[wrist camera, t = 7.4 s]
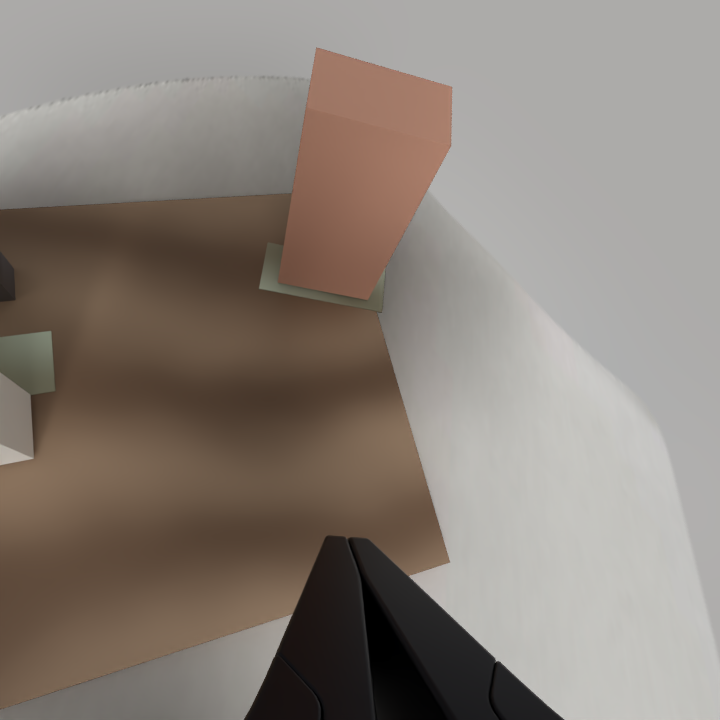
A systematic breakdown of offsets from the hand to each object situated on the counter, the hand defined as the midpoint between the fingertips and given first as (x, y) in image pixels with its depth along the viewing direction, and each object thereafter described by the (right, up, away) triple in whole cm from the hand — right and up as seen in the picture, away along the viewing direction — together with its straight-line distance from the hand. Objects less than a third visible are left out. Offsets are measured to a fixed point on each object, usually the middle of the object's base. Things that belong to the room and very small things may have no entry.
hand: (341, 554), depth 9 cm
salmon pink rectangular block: (-1, +8, +14) cm, 17 cm away
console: (-10, +2, +11) cm, 15 cm away
